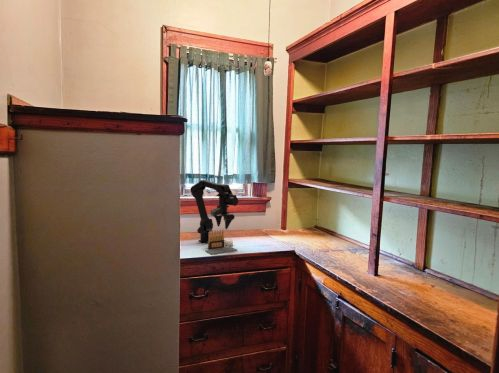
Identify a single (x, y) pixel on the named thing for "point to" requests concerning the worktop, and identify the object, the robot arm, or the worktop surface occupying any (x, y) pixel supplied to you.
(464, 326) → the worktop surface
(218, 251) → the mat
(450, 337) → the worktop surface
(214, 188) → the robot arm
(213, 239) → the ammunition clip
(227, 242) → the white small block
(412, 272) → the worktop surface
